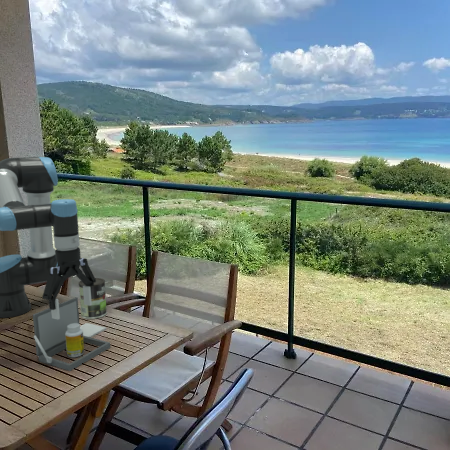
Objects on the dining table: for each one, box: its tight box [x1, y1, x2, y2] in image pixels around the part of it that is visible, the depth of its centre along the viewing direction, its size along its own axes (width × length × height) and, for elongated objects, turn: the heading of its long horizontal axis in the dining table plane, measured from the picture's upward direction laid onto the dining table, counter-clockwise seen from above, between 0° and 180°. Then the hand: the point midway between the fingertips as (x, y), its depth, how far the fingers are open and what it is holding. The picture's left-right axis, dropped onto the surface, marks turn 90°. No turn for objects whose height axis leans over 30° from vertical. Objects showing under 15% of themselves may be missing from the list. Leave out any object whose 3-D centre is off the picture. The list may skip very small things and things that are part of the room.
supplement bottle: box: [65, 323, 85, 358], centre depth 146 cm, size 6×6×10 cm
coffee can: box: [78, 277, 108, 320], centre depth 180 cm, size 10×10×14 cm
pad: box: [80, 322, 107, 338], centre depth 165 cm, size 10×10×1 cm
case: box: [32, 296, 111, 372], centre depth 146 cm, size 15×19×16 cm
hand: (72, 311), depth 144 cm, fingers open, 13 cm apart
